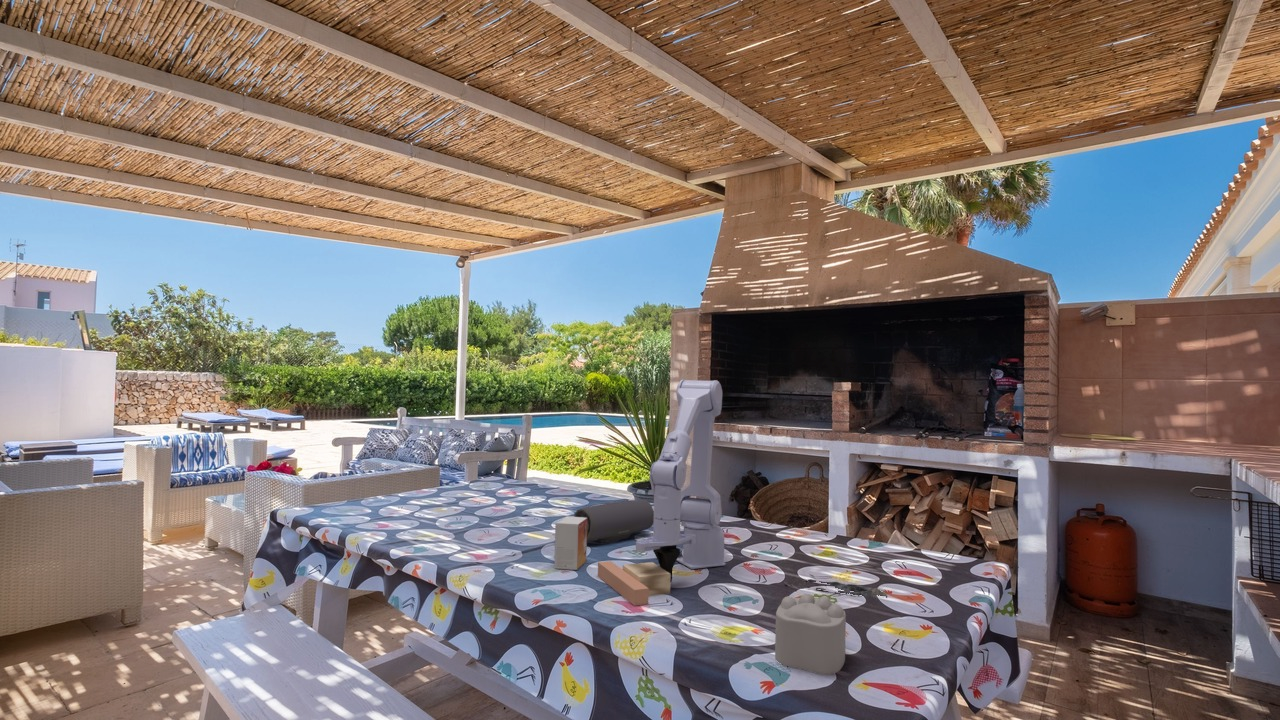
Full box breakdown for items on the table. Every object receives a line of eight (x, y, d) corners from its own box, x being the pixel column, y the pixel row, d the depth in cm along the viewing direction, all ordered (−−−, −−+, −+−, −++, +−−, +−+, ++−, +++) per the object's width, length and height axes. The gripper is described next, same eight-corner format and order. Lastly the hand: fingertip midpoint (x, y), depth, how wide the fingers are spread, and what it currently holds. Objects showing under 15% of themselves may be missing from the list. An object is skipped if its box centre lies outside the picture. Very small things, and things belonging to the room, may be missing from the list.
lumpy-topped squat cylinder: (769, 663, 99) (770, 606, 99) (788, 634, 110) (789, 584, 111) (838, 678, 94) (839, 619, 94) (850, 646, 106) (851, 594, 106)
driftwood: (888, 595, 134) (888, 585, 134) (886, 605, 128) (886, 595, 128) (790, 581, 143) (790, 572, 143) (784, 590, 137) (784, 580, 137)
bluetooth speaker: (633, 530, 186) (634, 495, 186) (655, 536, 179) (656, 500, 179) (570, 541, 170) (571, 504, 171) (591, 549, 163) (593, 509, 164)
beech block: (651, 580, 139) (652, 561, 139) (670, 593, 130) (670, 573, 130) (622, 583, 136) (622, 564, 136) (638, 597, 128) (639, 577, 128)
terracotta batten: (610, 574, 142) (610, 561, 142) (648, 603, 124) (648, 588, 124) (597, 575, 141) (598, 562, 141) (634, 605, 122) (634, 590, 122)
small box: (577, 571, 144) (578, 524, 144) (553, 569, 145) (554, 522, 145) (587, 561, 152) (588, 517, 152) (564, 559, 153) (565, 515, 153)
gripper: (682, 510, 142) (680, 571, 142) (628, 517, 134) (626, 582, 133) (702, 516, 136) (701, 580, 136) (647, 524, 128) (646, 592, 128)
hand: (665, 581), depth 134 cm, fingers closed, pressing on beech block
